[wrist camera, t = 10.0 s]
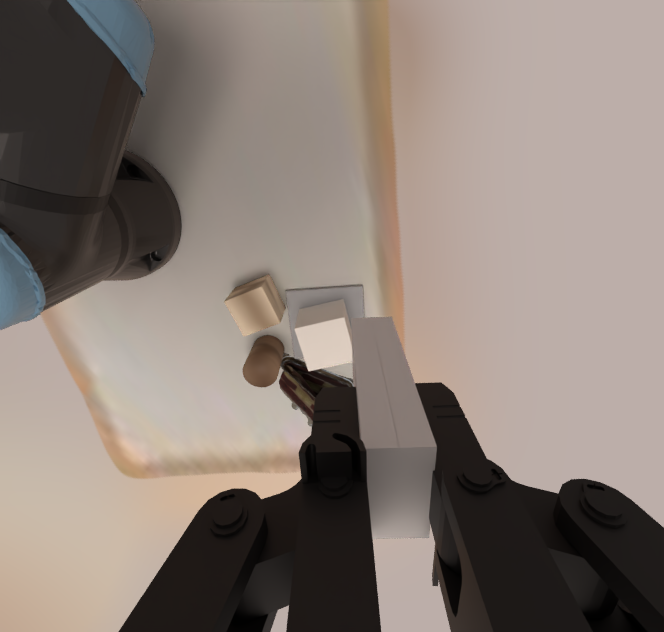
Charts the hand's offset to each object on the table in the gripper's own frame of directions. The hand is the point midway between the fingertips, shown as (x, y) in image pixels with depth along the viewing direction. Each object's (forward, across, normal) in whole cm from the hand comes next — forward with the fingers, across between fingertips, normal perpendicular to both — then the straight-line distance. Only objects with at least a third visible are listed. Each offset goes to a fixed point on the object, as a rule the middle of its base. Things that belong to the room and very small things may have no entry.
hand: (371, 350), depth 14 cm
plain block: (+31, -3, -13) cm, 34 cm away
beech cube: (+32, -12, -9) cm, 36 cm away
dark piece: (+33, -6, -24) cm, 41 cm away
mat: (+32, -3, -13) cm, 35 cm away
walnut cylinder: (+32, -12, -17) cm, 38 cm away
